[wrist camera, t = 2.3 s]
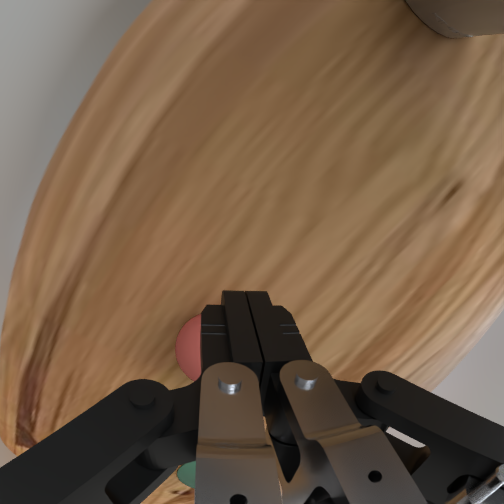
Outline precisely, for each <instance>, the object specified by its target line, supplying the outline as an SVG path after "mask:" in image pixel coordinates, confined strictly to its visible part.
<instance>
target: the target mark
mask: <svg viewBox="0 0 504 504" xmlns="http://www.w3.org/2000/svg"><path fill="white" fill-rule="evenodd" d="M195 472H196V461H193V462H190V463H186V464H183V465H182V466H181V467H180V468H179V469H178V472H177V476H178V478H179V480H180V481H181V482H182V483H184V484H185V485H187V486H189V487H192V488H195Z"/></svg>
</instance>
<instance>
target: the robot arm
mask: <svg viewBox="0 0 504 504" xmlns="http://www.w3.org/2000/svg"><path fill="white" fill-rule="evenodd" d="M405 1H406V2H407V3H408V5H409V6H410V8H411V9H412V10H413V12H414V13H415V14H416V15H417V16H418V17H419V18H420V19H421V20H422V21H423V22H424V23H425V24H426V25H428V26H429V27H430V28H431V29H433V30H434V31H436V32H437V33H439V34H441V35H444V36H446V37H450V38H463V37H473V36H480V35H492V34H504V0H405ZM200 359H201V375H200V376H199V378H198V379H197V380H196V381H195V382H193V383H192V384H190V385H188V386H186V387H182V388H178V389H174V390H168V389H167V388H166V387H165V386H164V385H162V384H161V383H159V382H156V381H153V380H147V379H138V380H133V381H130V382H127V383H125V384H124V385H122V386H121V387H119V388H118V389H117V390H115V391H114V392H112V393H111V394H109V395H108V396H107V397H105V398H104V399H102V400H101V401H99V402H98V403H97V404H95V405H94V406H92V407H91V408H89V409H88V410H86V411H85V412H84V413H82V414H81V415H79V416H78V417H76V418H75V419H73V420H72V421H70V422H69V423H67V424H66V425H65V426H63V427H62V428H60V429H59V430H57V431H56V432H54V433H53V434H51V435H50V436H48V437H47V438H45V439H44V440H42V441H41V442H39V443H38V444H36V445H35V446H33V447H32V448H30V449H29V450H27V451H25V452H24V453H22V454H21V455H19V456H18V457H16V458H15V459H13V460H12V461H10V462H9V463H7V464H5V465H4V466H2V467H1V468H0V504H140V503H141V502H142V501H144V500H145V499H146V498H147V497H148V496H149V495H150V494H151V493H152V492H153V491H154V490H155V489H156V488H157V487H159V486H160V485H161V484H162V483H163V482H164V481H165V480H166V479H167V478H168V477H169V476H170V475H171V474H172V473H173V472H174V471H175V470H176V469H177V467H178V465H182V464H186V463H190V462H193V461H196V472H195V504H504V427H503V426H501V425H499V424H497V423H494V422H492V421H490V420H488V419H486V418H484V417H481V416H479V415H477V414H475V413H473V412H470V411H468V410H466V409H464V408H462V407H460V406H458V405H456V404H454V403H451V402H449V401H447V400H445V399H443V398H441V397H439V396H437V395H435V394H433V393H431V392H429V391H427V390H425V389H423V388H421V387H419V386H417V385H415V384H413V383H411V382H409V381H407V380H405V379H403V378H401V377H399V376H397V375H395V374H392V373H390V372H387V371H372V372H370V373H368V374H366V375H365V376H364V378H363V379H362V382H361V383H355V382H347V381H340V380H336V379H333V378H332V376H331V375H330V373H329V372H328V370H327V369H326V368H324V367H323V366H321V365H320V364H318V363H315V362H313V361H312V359H311V356H310V354H309V352H308V350H307V348H306V345H305V343H304V341H303V339H302V336H301V334H299V330H298V328H297V326H296V323H295V321H294V319H293V316H292V314H291V313H290V312H288V311H287V310H286V309H285V308H284V307H283V306H273V305H272V303H271V300H270V298H269V295H268V293H267V291H245V292H244V291H226V290H223V291H222V298H221V305H207V306H206V307H205V308H204V310H203V311H202V313H201V331H200ZM263 416H265V419H266V423H267V426H266V430H265V428H264V420H263ZM389 426H390V427H392V428H394V429H395V430H397V431H399V432H401V433H403V434H405V435H407V436H409V437H411V438H413V439H415V440H417V441H419V442H421V443H423V444H425V445H426V446H424V447H421V448H418V447H414V446H412V445H410V444H408V443H406V442H404V441H402V440H400V439H398V438H396V437H394V436H392V435H391V434H389V433H387V432H386V430H387V429H388V427H389ZM278 478H279V479H278ZM279 481H280V484H281V487H282V498H281V492H280V485H279Z"/></svg>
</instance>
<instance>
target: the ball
mask: <svg viewBox="0 0 504 504" xmlns="http://www.w3.org/2000/svg"><path fill="white" fill-rule="evenodd" d="M200 331H201V314H200V315H197V316H195V317H193V318H192V319H190V320H189V321H188V322H187V323H186V324H185V325H184V326H183V327H182V329H181V330H180V332H179V334H178V336H177V340H176V345H175V352H176V358H177V361H178V364H179V366H180V368H181V369H182V370H183V372H184V373H185V374H186V375H187V376H188V377H189V378H190V379H191V380H193V381H196V380H197V379H198V378H199V376H200V375H201V359H200Z"/></svg>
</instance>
